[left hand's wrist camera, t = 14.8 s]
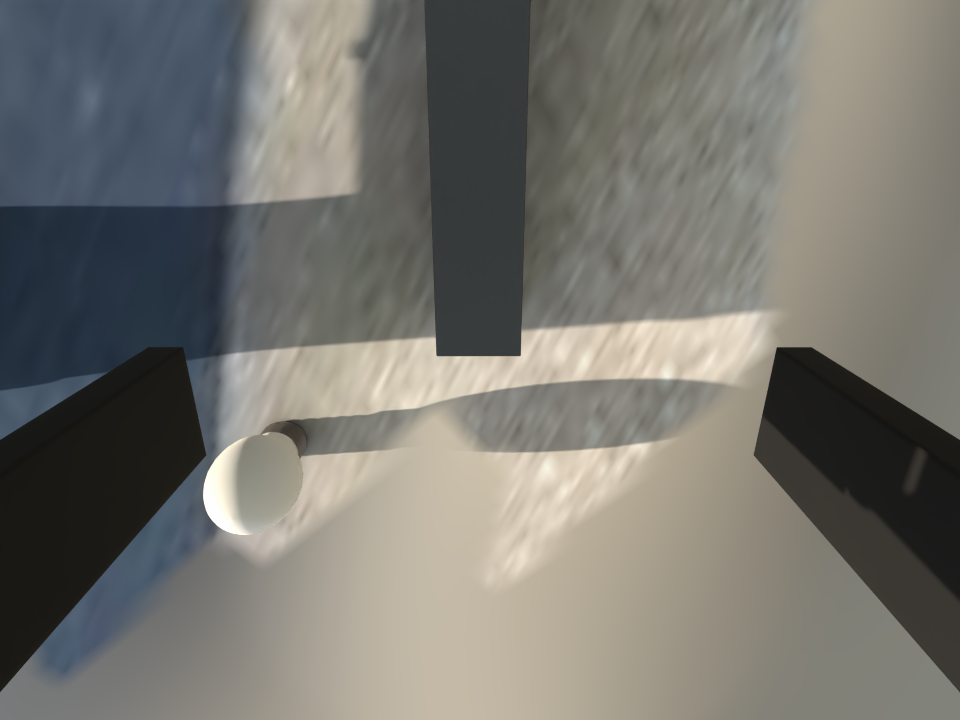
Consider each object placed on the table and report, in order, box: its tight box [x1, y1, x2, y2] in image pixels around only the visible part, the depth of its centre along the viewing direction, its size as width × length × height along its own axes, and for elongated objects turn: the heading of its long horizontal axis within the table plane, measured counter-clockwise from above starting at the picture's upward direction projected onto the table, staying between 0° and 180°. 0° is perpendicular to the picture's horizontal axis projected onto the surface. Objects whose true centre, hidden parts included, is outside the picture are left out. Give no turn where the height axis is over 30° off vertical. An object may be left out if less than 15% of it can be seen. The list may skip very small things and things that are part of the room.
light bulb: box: [203, 422, 307, 535], centre depth 43 cm, size 7×7×11 cm
